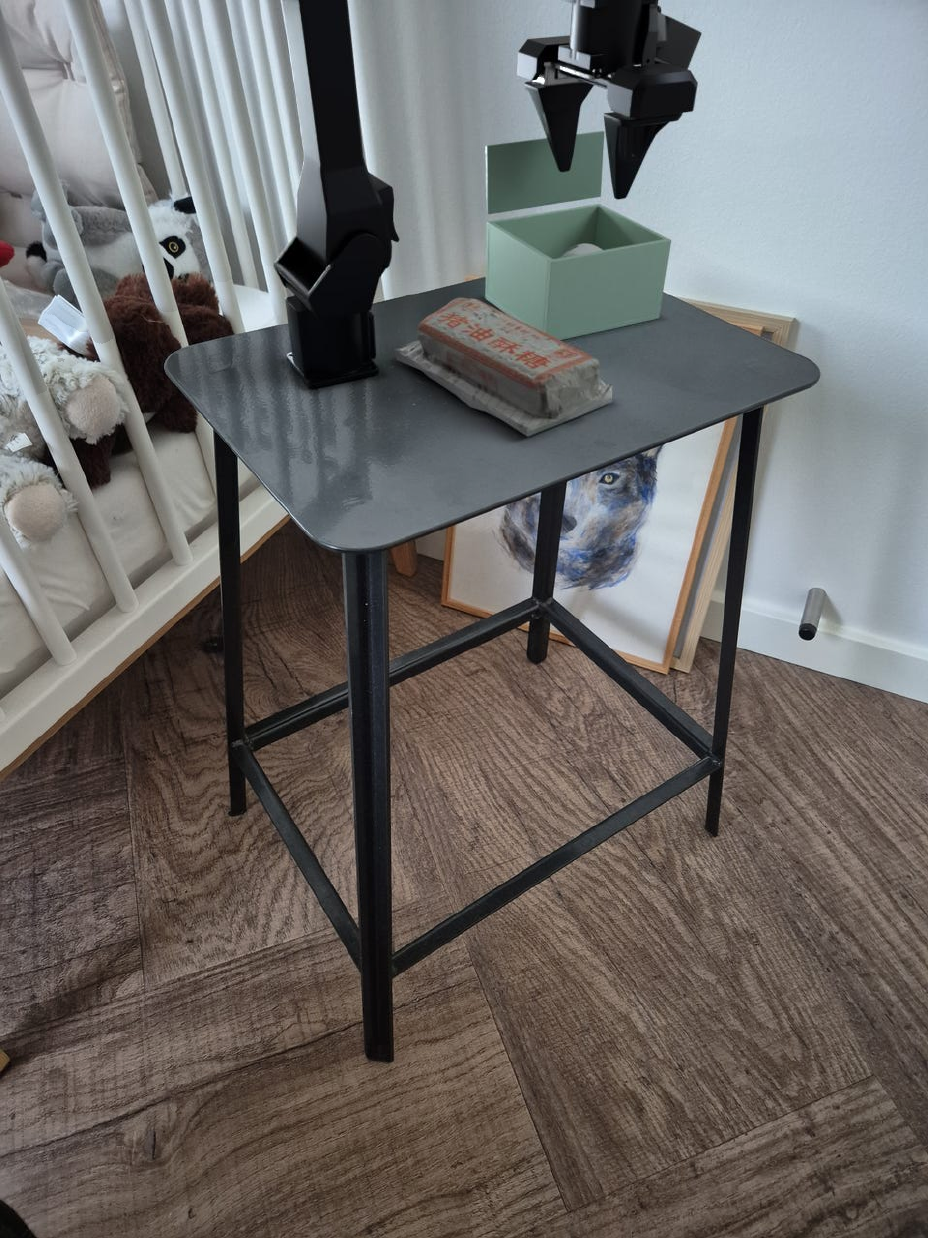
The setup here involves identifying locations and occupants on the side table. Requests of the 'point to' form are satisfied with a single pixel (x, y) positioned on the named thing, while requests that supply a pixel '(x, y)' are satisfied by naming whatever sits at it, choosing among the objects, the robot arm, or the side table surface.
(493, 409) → the packaged product
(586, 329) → the pale green hollow box
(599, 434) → the side table surface
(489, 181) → the green box lid
